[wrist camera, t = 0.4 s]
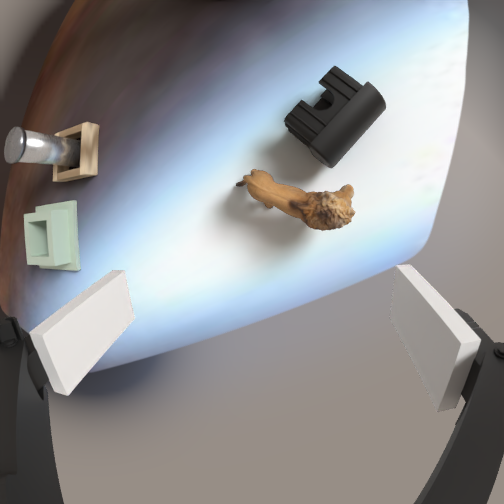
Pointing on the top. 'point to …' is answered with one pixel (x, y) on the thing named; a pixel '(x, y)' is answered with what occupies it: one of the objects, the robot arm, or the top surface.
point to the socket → (53, 236)
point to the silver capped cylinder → (41, 148)
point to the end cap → (336, 116)
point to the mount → (87, 156)
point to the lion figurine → (302, 201)
